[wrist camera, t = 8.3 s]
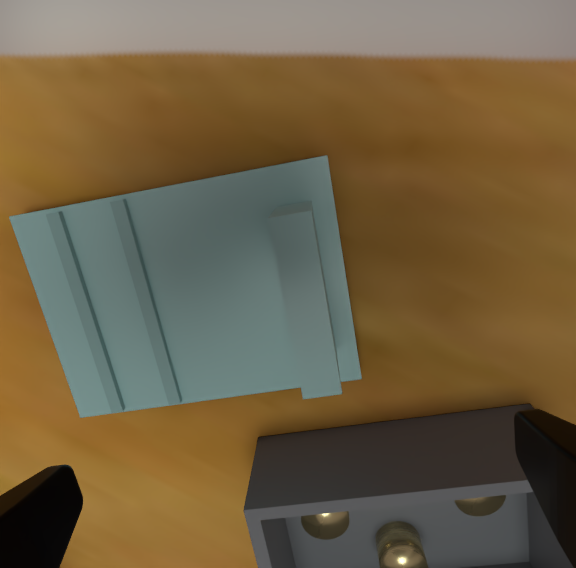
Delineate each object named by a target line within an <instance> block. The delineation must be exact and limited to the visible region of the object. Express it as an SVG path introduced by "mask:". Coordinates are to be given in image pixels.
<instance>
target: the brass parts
mask: <svg viewBox="0 0 576 568" xmlns="http://www.w3.org/2000/svg"><path fill="white" fill-rule="evenodd" d="M505 499H506V495H500V496H490V497H481V498H471V499H461V500H454V501H455V504H456V506H457V507H458V508H459V509H460V510H461V511H462V512H463V513H465V514H468V515H471V516H478V517H479V516H486V515H490V514H492V513H494V512H496V511H497V510H498V509H500V507H501V506H502V505H503V504H504V502H505ZM349 521H350V520H349V511H345V512H335V513H326V514H316V515H306V516H301V523H302V526H303V528H304V530H305V531H306V532H307V533H308V534H309V535H311V536H313V537H315V538H318V539H323V540H329V539H334V538H337V537H339V536H341V535H342V534H343V533H344V532H345V531H346V530H347V528H348V526H349ZM375 541H376V547H377V553H378V559H379V565H380V568H428V564H427V561H426V557H425V554H424V550H423V547H422V543H421V540H420V536H419V533H418V531H417V530H416V528H415V527H414V526H412V525H411V524H409V523H406V522H402V521H394V522H389V523H387V524H385V525H383V526H382V527H381V528H380V529H379V530H378V531H377V533H376V537H375Z"/></svg>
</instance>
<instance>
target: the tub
mask: <svg viewBox="0 0 576 568" xmlns="http://www.w3.org/2000/svg"><path fill="white" fill-rule="evenodd" d="M531 409H534V408H533V407H532V405H531V404H523V405H515V406H507V407H499V408H491V409H483V410H475V411H467V412H459V413H451V414H443V415H434V416H426V417H418V418H410V419H402V420H394V421H386V422H378V423H370V424H362V425H354V426H346V427H338V428H329V429H321V430H313V431H305V432H297V433H289V434H281V435H273V436H265V437H258V441H257V446H256V451H255V456H254V461H253V466H252V471H251V476H250V481H249V486H248V491H247V496H246V501H245V506H244V514H245V518H246V522H247V526H248V529H249V533H250V537H251V541H252V545H253V549H254V553H255V557H256V561H257V565H258V568H380V565H379V559H378V553H377V547H376V541H375V537H376V533H377V531H378V530H379V529H380V528H381V527H382V526H383V525H385V524H387V523H389V522H394V521H402V522H406V523H409V524H411V525H412V526H414V527H415V528H416V530H417V531H418V533H419V536H420V540H421V543H422V547H423V550H424V554H425V557H426V561H427V564H428V568H573V566H572V564H571V563H570V561H569V559H568V558H567V556H566V555H565V553H564V551H563V549H562V548H561V546H560V544H559V543H558V541H557V539H556V537H555V535H554V533H553V531H552V529H551V527H550V525H549V523H548V521H547V519H546V517H545V515H544V513H543V511H542V509H541V507H540V505H539V503H538V501H537V498H536V496H535V494H534V492H533V490H532V488H531V486H530V484H529V482H528V480H527V478H526V476H525V474H524V472H523V470H522V468H521V466H520V464H519V461H518V459H517V455H516V451H515V434H514V416H515V413H516V412H517V411H523V410H531ZM500 495H506V499H505V502H504V504H503V505H502V506H501V507H500V509H498V510H497V511H496V512H494V513H492V514H490V515H486V516H479V517H478V516H471V515H468V514H465V513H463V512H462V511H461V510H460V509H459V508H458V507H457V506H456V504H455V501H454V500H461V499H471V498H481V497H490V496H500ZM345 511H349V520H350V521H349V526H348V528H347V530H346V531H345V532H344V533H343V534H342V535H341V536H339V537H337V538H334V539H329V540H323V539H318V538H315V537H313V536H311V535H309V534H308V533H307V532H306V531H305V530H304V528H303V526H302V523H301V516H306V515H316V514H326V513H335V512H345Z"/></svg>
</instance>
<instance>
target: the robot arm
mask: <svg viewBox="0 0 576 568" xmlns="http://www.w3.org/2000/svg"><path fill="white" fill-rule="evenodd" d="M514 434H515V451H516V455H517V459H518V461H519V464H520V466H521V468H522V470H523V472H524V474H525V476H526V478H527V480H528V482H529V484H530V486H531V488H532V490H533V492H534V494H535V496H536V498H537V501H538V503H539V505H540V507H541V509H542V511H543V513H544V515H545V517H546V519H547V521H548V523H549V525H550V527H551V529H552V531H553V533H554V535H555V537H556V539H557V541H558V543H559V544H560V546H561V548H562V549H563V551H564V553H565V555H566V556H567V558H568V559H569V561H570V563H571V564H572V566H573V568H576V425H574V424H572V423H570V422H567V421H565V420H563V419H561V418H558V417H556V416H554V415H551V414H549V413H547V412H545V411H542V410H540V409H531V410H523V411H517V412H516V413H515V416H514ZM82 506H83V496H82V493H81V490H80V487H79V485H78V482H77V479H76V476H75V474H74V471H73V469H72V468H71V467H70V466H69V465H58V466H50V467H48V468H46V469H44V470H42V471H41V472H39V473H37V474H36V475H34V476H32V477H31V478H29V479H27V480H26V481H24V482H22V483H21V484H19V485H17V486H16V487H14V488H12V489H11V490H9V491H7V492H6V493H4V494H2V495H1V496H0V568H59V567H60V564H61V562H62V559H63V557H64V554H65V551H66V549H67V546H68V544H69V541H70V538H71V536H72V533H73V531H74V528H75V526H76V523H77V520H78V518H79V515H80V513H81V510H82Z"/></svg>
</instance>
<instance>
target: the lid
mask: <svg viewBox="0 0 576 568" xmlns="http://www.w3.org/2000/svg"><path fill="white" fill-rule="evenodd" d="M9 218H10V221H11V224H12V227H13V229H14V232H15V235H16V238H17V241H18V244H19V246H20V249H21V252H22V255H23V258H24V260H25V263H26V266H27V269H28V272H29V274H30V277H31V280H32V283H33V286H34V288H35V291H36V294H37V297H38V300H39V303H40V305H41V308H42V311H43V314H44V317H45V319H46V322H47V325H48V328H49V331H50V333H51V336H52V339H53V342H54V345H55V347H56V350H57V353H58V356H59V359H60V361H61V364H62V367H63V370H64V373H65V376H66V378H67V381H68V384H69V387H70V390H71V392H72V395H73V398H74V401H75V404H76V406H77V409H78V412H79V415H80V418H82V417H89V416H97V415H104V414H111V413H119V412H126V411H133V410H140V409H148V408H155V407H162V406H169V405H177V404H184V403H191V402H198V401H206V400H213V399H220V398H228V397H235V396H242V395H249V394H257V393H264V392H271V391H278V390H286V389H293V388H300V387H301V391H302V396H303V399H309V398H317V397H324V396H331V395H339V394H342V389H341V382H344V381H351V380H358V379H362V377H361V371H360V364H359V358H358V352H357V345H356V339H355V332H354V326H353V319H352V313H351V306H350V300H349V293H348V287H347V280H346V274H345V267H344V261H343V254H342V248H341V241H340V235H339V228H338V222H337V215H336V209H335V202H334V196H333V189H332V183H331V176H330V170H329V163H328V157H327V155H326V156H320V157H315V158H310V159H305V160H300V161H295V162H289V163H284V164H279V165H274V166H269V167H263V168H258V169H253V170H248V171H243V172H238V173H232V174H227V175H222V176H217V177H212V178H207V179H201V180H196V181H191V182H186V183H181V184H175V185H170V186H165V187H160V188H155V189H150V190H144V191H139V192H134V193H129V194H124V195H119V196H113V197H108V198H103V199H98V200H93V201H87V202H82V203H77V204H72V205H67V206H62V207H56V208H51V209H46V210H41V211H36V212H31V213H25V214H20V215H15V216H10V217H9Z"/></svg>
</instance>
